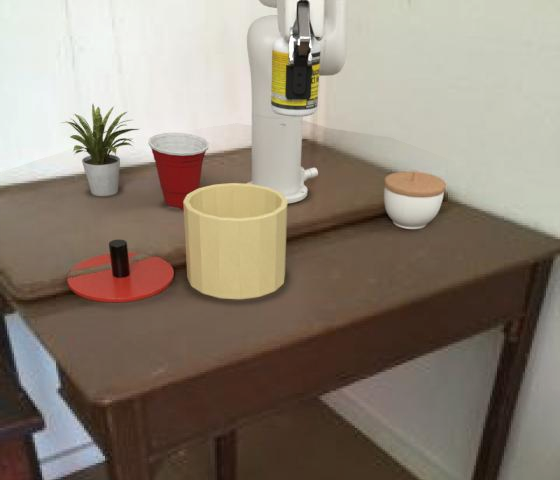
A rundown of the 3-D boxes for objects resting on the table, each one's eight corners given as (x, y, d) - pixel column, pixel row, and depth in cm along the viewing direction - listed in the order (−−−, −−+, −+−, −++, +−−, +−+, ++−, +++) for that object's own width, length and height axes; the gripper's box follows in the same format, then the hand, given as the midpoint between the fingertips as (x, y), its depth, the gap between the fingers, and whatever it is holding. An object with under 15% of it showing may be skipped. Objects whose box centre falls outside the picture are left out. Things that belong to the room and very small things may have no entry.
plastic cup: (186, 220, 126) (183, 153, 119) (140, 207, 131) (135, 141, 124) (222, 202, 134) (221, 138, 127) (177, 190, 138) (174, 128, 132)
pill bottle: (313, 119, 91) (318, 25, 84) (266, 115, 92) (268, 22, 85) (320, 107, 96) (325, 18, 90) (275, 104, 97) (277, 15, 90)
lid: (139, 251, 114) (136, 214, 111) (194, 285, 105) (192, 247, 101) (50, 277, 106) (43, 238, 102) (100, 317, 96) (95, 276, 93)
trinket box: (445, 218, 130) (453, 168, 125) (430, 238, 122) (438, 186, 117) (390, 208, 134) (395, 159, 128) (372, 227, 125) (377, 175, 120)
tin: (244, 251, 115) (244, 176, 108) (304, 283, 106) (308, 204, 99) (169, 275, 107) (164, 196, 100) (227, 312, 98) (225, 228, 91)
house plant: (105, 212, 128) (94, 120, 119) (49, 197, 133) (34, 108, 124) (154, 190, 138) (147, 104, 129) (100, 177, 144) (90, 93, 135)
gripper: (345, -64, 75) (333, 109, 86) (321, -71, 90) (313, 78, 100) (275, -66, 75) (272, 109, 85) (262, -73, 89) (260, 77, 99)
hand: (294, 91), depth 92 cm, fingers closed on pill bottle, 6 cm apart
